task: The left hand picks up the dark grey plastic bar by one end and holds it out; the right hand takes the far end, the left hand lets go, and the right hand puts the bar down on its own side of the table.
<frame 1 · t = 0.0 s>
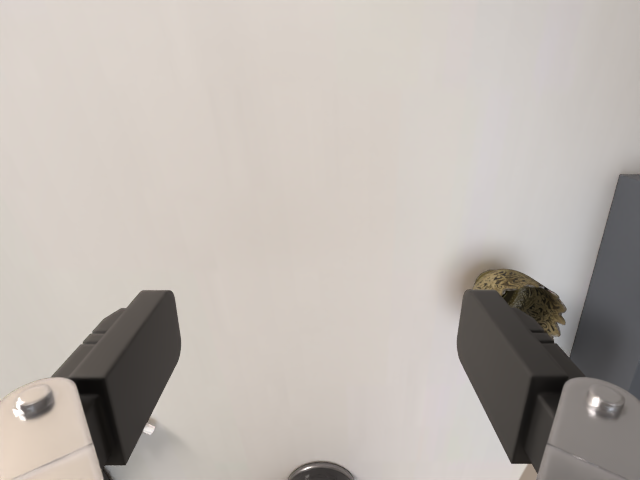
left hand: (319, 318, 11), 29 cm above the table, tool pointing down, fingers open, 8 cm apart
bar: (610, 290, 44), on the table
cup: (488, 281, 44), on the table
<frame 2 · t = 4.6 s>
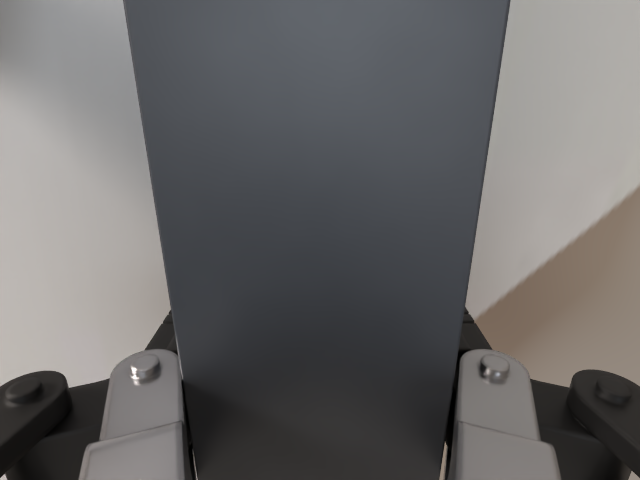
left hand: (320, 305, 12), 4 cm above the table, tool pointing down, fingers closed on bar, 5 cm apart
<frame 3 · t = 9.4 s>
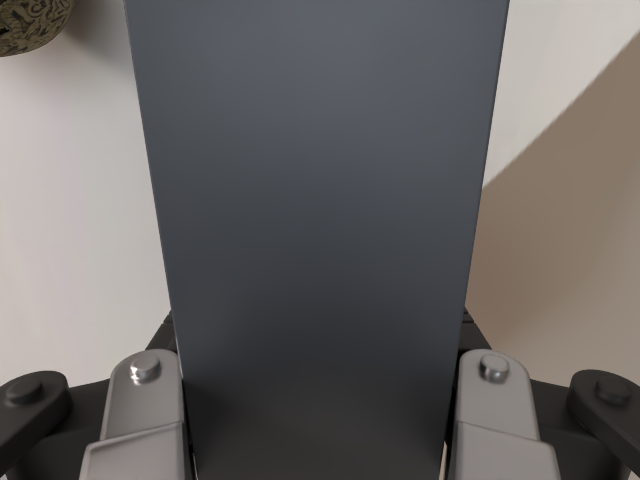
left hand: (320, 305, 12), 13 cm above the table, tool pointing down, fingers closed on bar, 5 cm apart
when the left hand's fingers open (13 cm above the table, at t = 10.2 s): bar stays where it is, held by the right hand.
when the right hand's fingers open (2 cm above the table, at t = 14.6 s): bar drops 1 cm, on the table.
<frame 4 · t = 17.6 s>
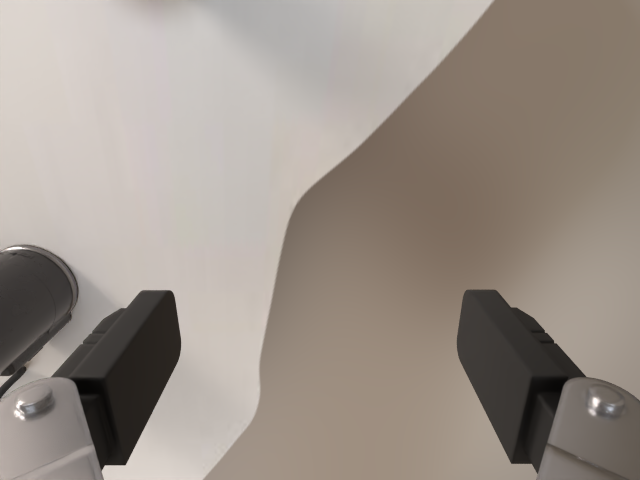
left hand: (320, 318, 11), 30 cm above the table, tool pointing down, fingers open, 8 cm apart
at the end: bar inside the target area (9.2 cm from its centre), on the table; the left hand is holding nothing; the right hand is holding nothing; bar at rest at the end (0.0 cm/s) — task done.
